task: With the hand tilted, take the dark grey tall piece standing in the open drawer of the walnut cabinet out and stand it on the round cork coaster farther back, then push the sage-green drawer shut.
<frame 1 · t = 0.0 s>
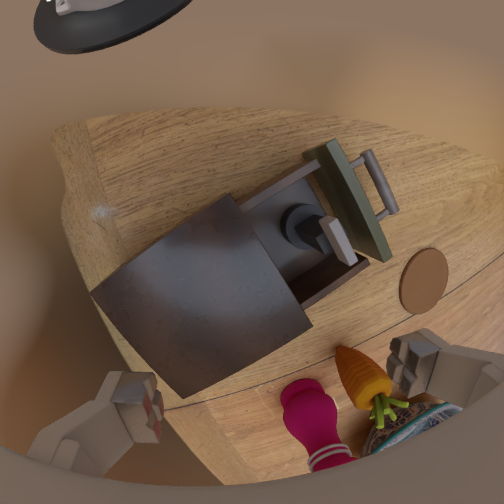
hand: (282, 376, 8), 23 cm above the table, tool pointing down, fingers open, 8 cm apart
bowl: (391, 422, 42), on the table
coaster: (424, 281, 35), on the table
drawer: (314, 222, 26), point 4 cm above the table, slide at 9.0 cm, touching dark grey tall piece
dark grey tall piece: (300, 224, 29), point 2 cm above the table, touching drawer
cabinet: (204, 281, 31), on the table
carrot: (338, 347, 35), on the table
pepper mill: (300, 393, 36), on the table
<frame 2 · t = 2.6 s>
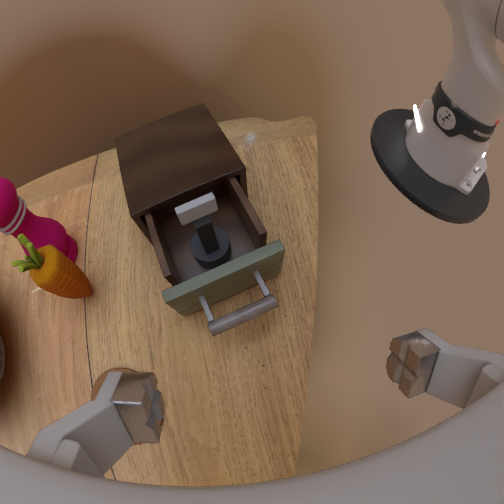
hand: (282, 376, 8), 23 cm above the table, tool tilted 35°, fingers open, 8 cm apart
drawer: (212, 249, 31), point 4 cm above the table, slide at 9.0 cm, touching dark grey tall piece
dark grey tall piece: (212, 251, 33), point 2 cm above the table, touching drawer
cabinet: (185, 189, 39), on the table
carrot: (91, 293, 33), on the table
pepper mill: (63, 256, 36), on the table
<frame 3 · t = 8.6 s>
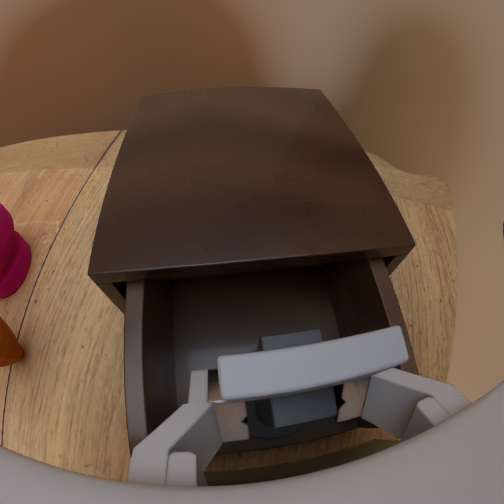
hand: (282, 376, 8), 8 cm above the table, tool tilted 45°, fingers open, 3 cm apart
drawer: (274, 410, 11), point 4 cm above the table, slide at 8.7 cm, touching dark grey tall piece
dark grey tall piece: (266, 395, 13), point 2 cm above the table, touching drawer
cabinet: (240, 235, 21), on the table
carrot: (23, 356, 14), on the table
pepper mill: (10, 269, 18), on the table
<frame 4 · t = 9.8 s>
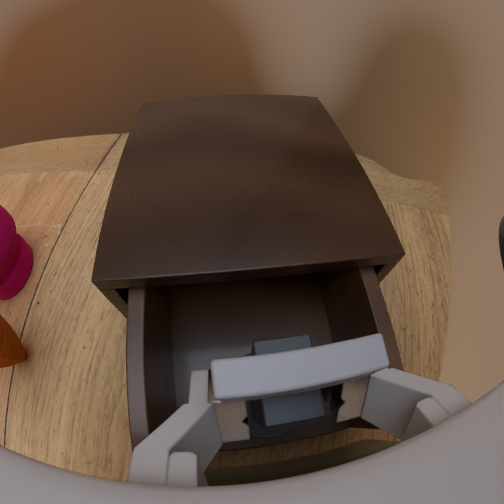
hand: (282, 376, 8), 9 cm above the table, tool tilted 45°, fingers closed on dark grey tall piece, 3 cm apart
drawer: (267, 410, 11), point 4 cm above the table, slide at 8.7 cm
dark grey tall piece: (262, 397, 14), point 2 cm above the table, touching gripper
cabinet: (237, 240, 22), on the table
carrot: (26, 356, 15), on the table
pepper mill: (12, 271, 19), on the table
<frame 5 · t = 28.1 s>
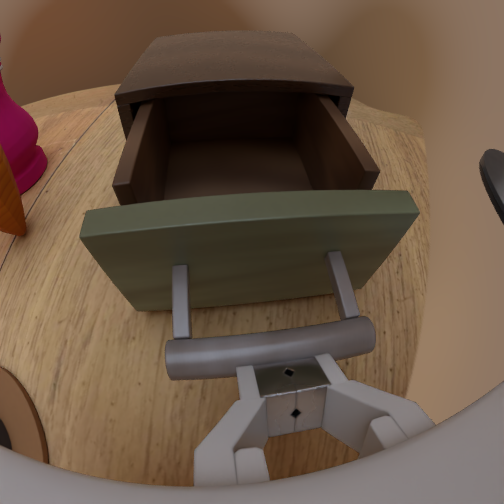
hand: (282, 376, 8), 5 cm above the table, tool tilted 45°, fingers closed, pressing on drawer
drawer: (244, 190, 14), point 4 cm above the table, slide at 7.8 cm, touching gripper
cabinet: (228, 134, 24), on the table
carrot: (25, 234, 17), on the table
pepper mill: (25, 177, 21), on the table
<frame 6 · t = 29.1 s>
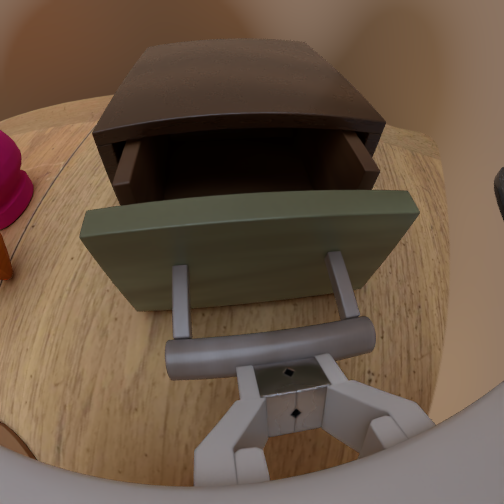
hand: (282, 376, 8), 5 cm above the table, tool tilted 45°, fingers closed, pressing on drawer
coaster: (6, 484, 6), on the table
drawer: (244, 190, 14), point 4 cm above the table, slide at 3.8 cm, touching gripper
cabinet: (232, 161, 22), on the table
carrot: (12, 277, 15), on the table
pepper mill: (11, 206, 19), on the table
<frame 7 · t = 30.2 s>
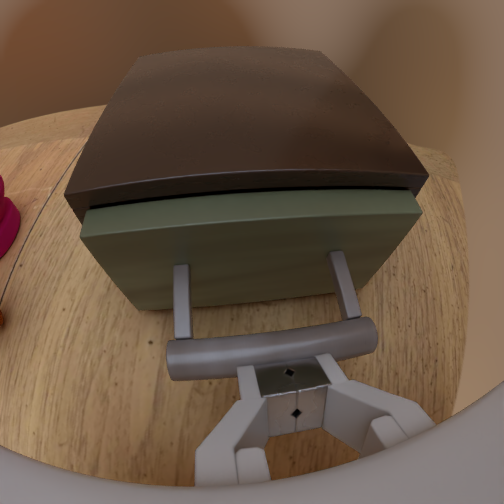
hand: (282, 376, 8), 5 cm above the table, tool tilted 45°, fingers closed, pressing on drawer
drawer: (246, 189, 14), point 4 cm above the table, slide at 0.0 cm, touching cabinet, gripper
cabinet: (238, 193, 19), on the table
carrot: (3, 323, 13), on the table
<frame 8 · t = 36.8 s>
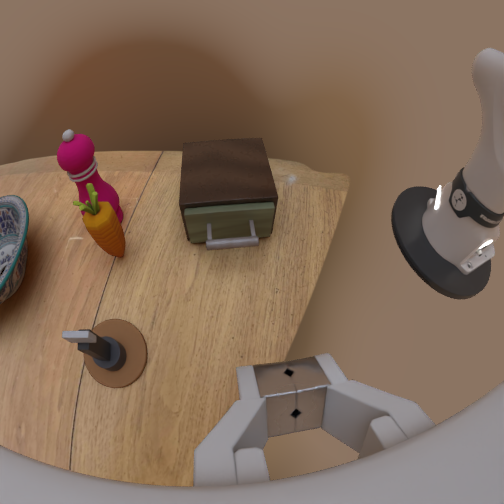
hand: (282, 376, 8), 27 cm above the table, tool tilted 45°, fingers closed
bowl: (8, 276, 38), on the table
coaster: (114, 353, 33), on the table
drawer: (227, 202, 43), point 4 cm above the table, slide at 0.0 cm, touching cabinet
dark grey tall piece: (112, 356, 33), point 1 cm above the table, touching coaster
cabinet: (226, 203, 48), on the table
carrot: (122, 256, 42), on the table
pepper mill: (108, 220, 46), on the table
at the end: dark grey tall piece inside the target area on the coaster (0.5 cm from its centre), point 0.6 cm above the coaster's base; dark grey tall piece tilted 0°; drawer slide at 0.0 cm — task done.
